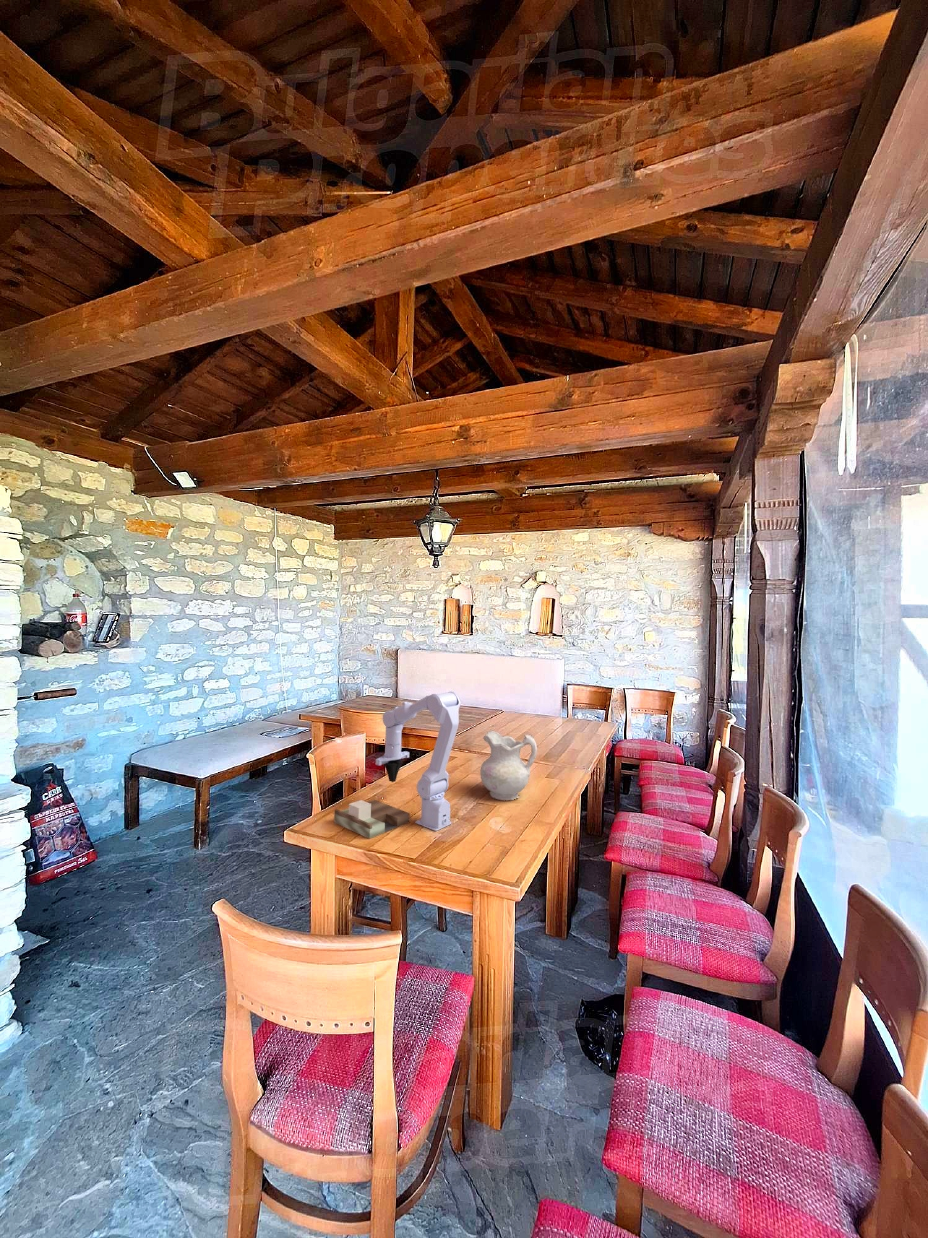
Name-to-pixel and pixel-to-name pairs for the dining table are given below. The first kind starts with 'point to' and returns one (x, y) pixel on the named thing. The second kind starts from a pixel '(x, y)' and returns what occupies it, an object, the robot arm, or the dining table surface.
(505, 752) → the ceramic pitcher
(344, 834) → the dining table surface
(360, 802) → the cream block
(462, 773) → the dining table surface
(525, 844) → the dining table surface
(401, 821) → the box
